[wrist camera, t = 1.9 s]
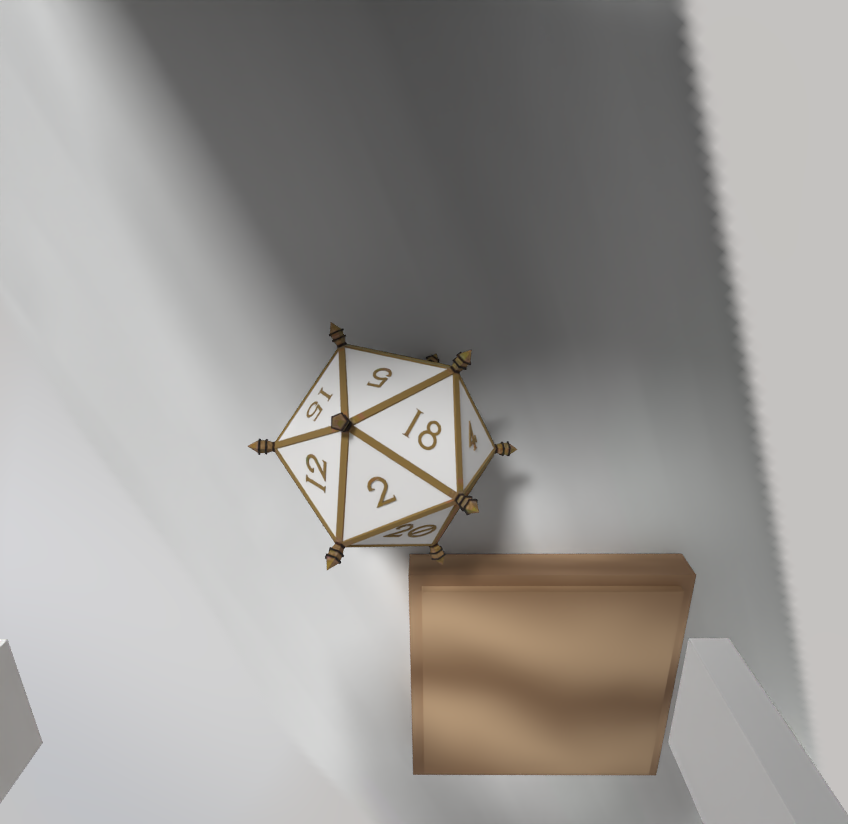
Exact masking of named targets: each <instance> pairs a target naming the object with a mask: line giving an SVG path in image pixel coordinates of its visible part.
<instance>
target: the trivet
mask: <svg viewBox="0 0 848 824" xmlns="http://www.w3.org/2000/svg"><path fill="white" fill-rule="evenodd" d="M695 578H696V574H695V573H694V571H693V570H692V568H691V567H690V565H689V564H688V562H687V561H686V559H685V558H684V556H683V555H682V554H446V555H445V556H444V562H443V565H442V564H440V563H439V562H437V561H435V560H432V555H431V554H410V559H409V615H410V657H411V700H412V742H413V775H656V773H657V768H658V763H659V758H660V753H661V748H662V743H663V738H664V733H665V728H666V723H667V718H668V713H669V708H670V703H671V698H672V693H673V688H674V683H675V678H676V673H677V668H678V663H679V658H680V653H681V648H682V643H683V638H684V633H685V628H686V623H687V618H688V613H689V608H690V603H691V598H692V593H693V588H694V583H695Z"/></svg>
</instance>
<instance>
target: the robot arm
mask: <svg viewBox="0 0 848 824" xmlns="http://www.w3.org/2000/svg"><path fill="white" fill-rule="evenodd" d="M42 743H43V742H42V739H41V736H40V734H39V730H38V728H37V725H36V722H35V719H34V716H33V713H32V710H31V707H30V704H29V701H28V698H27V695H26V692H25V689H24V687H23V684H22V681H21V678H20V675H19V672H18V669H17V666H16V663H15V660H14V657H13V654H12V652H11V649H10V646H9V643H8V640H7V639H6V640H5V639H3V640H1V639H0V803H1V802H2V800H3V799H4V797H5V796H6V794H7V793H8V792H9V790H10V789H11V787H12V786H13V785H14V783H15V782H16V780H17V779H18V777H19V776H20V775H21V773H22V772H23V770H24V769H25V767H26V766H27V764H28V763H29V762H30V760H31V759H32V757H33V756H34V755H35V753H36V752H37V750H38V749H39V747H40V746H41V744H42ZM668 744H669V746H670V748H671V751H672V753H673V755H674V758H675V760H676V762H677V765H678V767H679V769H680V771H681V774H682V776H683V778H684V781H685V783H686V785H687V788H688V790H689V792H690V795H691V797H692V799H693V801H694V804H695V806H696V808H697V811H698V813H699V815H700V818H701V820H702V822H703V824H848V814H847V813H846V811H845V810H844V808H843V807H842V805H841V804H840V802H839V801H838V799H837V798H836V796H835V795H834V793H833V792H832V790H831V789H830V787H829V786H828V784H827V783H826V781H825V780H824V778H823V777H822V776H821V774H820V773H819V771H818V770H817V768H816V767H815V765H814V764H813V762H812V761H811V759H810V758H809V756H808V755H807V753H806V752H805V750H804V749H803V747H802V746H801V744H800V743H799V741H798V740H797V738H796V737H795V735H794V734H793V732H792V731H791V729H790V728H789V726H788V725H787V723H786V722H785V721H784V719H783V718H782V716H781V715H780V713H779V712H778V710H777V709H776V707H775V706H774V704H773V703H772V701H771V700H770V698H769V697H768V695H767V694H766V692H765V691H764V689H763V688H762V686H761V685H760V683H759V682H758V680H757V679H756V677H755V676H754V674H753V673H752V671H751V670H750V668H749V667H748V665H747V664H746V663H745V661H744V660H743V658H742V657H741V655H740V654H739V652H738V651H737V649H736V648H735V646H734V645H733V643H732V642H731V640H730V639H729V638H689V639H688V644H687V649H686V655H685V660H684V665H683V670H682V675H681V680H680V685H679V690H678V695H677V700H676V705H675V710H674V715H673V720H672V725H671V731H670V736H669V741H668Z"/></svg>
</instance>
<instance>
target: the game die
mask: <svg viewBox="0 0 848 824" xmlns="http://www.w3.org/2000/svg"><path fill="white" fill-rule="evenodd" d="M342 330H343V329H341V328H339V327H338V326H336V325H335V324H333V323H332V322H331V326H330V334H329V336H331V337H332V339H333V340H332V342H334V343H335V344H336V345H337V350H336V351H335V353H334V354H333V356H332V357H331V359H330V360H329V362H328V363H327V365H326V366H325V368H324V369H323V371H322V372H321V374H320V375H319V377H318V378H317V380H316V381H315V383H314V384H313V386H312V387H311V389H310V390H309V392H308V393H307V395H306V396H305V398H304V399H303V401H302V402H301V404H300V405H299V407H298V408H297V410H296V411H295V413H294V414H293V416H292V417H291V419H290V420H289V422H288V423H287V425H286V426H285V428H284V429H283V431H282V432H281V434H280V435H279V437H278V438H277V440H276V441H275V442H271V441H268V439H266V440H261V439H259V440H258V441H256V442H254V443H253V444H251V445H249V446H248V447H250V448H251V449H253V450H254V451H256V452H258V454H259V455H260V453H265V454H267V453H268V452H272V451H273V452H275V453H276V454H277V456H278V457H279V459H280V460H281V462H282V463H283V465H284V466H285V468H286V469H287V471H288V473H289V474H290V476H291V477H292V479H293V480H294V482H295V483H296V485H297V486H298V488H299V489H300V491H301V492H302V494H303V495H304V497H305V498H306V500H307V501H308V503H309V504H310V506H311V507H312V509H313V510H314V512H315V513H316V515H317V517H318V518H319V520H320V521H321V523H322V524H323V526H324V527H325V529H326V530H327V532H328V533H329V535H330V536H331V538H332V539H333V541H334V542H335V545H334V546H333V547H332V548H331V547H330V548H329V553H328V554H326V556H325V559H327V570H328V569H330V568H332V567H333V566H335V565H337V564H341V561H340V560H341V558H342V557H344V555H343V549H344V548H345V547H395V546H429V547H430V553H429V554H431V555H432V560H435V561H437V562H439V563H440V564H442V565H443V562H444V556H445V555H446V554H445V553H444V551H442V550H443V549H442V547H441V546H439V545H438V541H439V539H440V538H441V536H442V535H443V533H444V532H445V530H446V529H447V527H448V526H449V524H450V522H451V521H452V519H453V518H454V516H455V515H456V513H457V512H458V510H459V509H460V508H461V510H462V511H465V513H466V514H467V515H469V514H471V513H479V510H478V506H477V501H478V500H477V499H472V496H468V495H469V493H470V491H471V490H472V488H473V487H474V485H475V484H476V482H477V481H478V479H479V478H480V476H481V474H482V473H483V471H484V470H485V468H486V467H487V465H488V464H489V462H490V461H491V459H492V457H493V456H494V454H496V453H498V454H499V455H502V456H504V455H507V456H510V454H511V453H513V452H514V451H516V450H517V449H516V448H515V447H514V446H512V445H511V444H509V441H507V443H503V442H501V443H500V444H497V445H496V444H494V442H493V440H492V438H491V436H490V434H489V432H488V430H487V428H486V426H485V424H484V422H483V420H482V418H481V416H480V414H479V412H478V410H477V408H476V406H475V404H474V402H473V400H472V398H471V396H470V394H469V392H468V390H467V388H466V386H465V384H464V382H463V380H462V378H461V376H460V374H459V373H460V371H462V370H463V369H464V370H466V369H467V368H466V367H467V366H468V365H471V361H470V360H471V351H472V350H469V351H466V352H463V353H462V352H460V353H458V354H457V357H456V358H455V359H454V360H453V365H452V366H450V365H445V364H441V363H439V359H438V357H437V354H435V355H431V356H428V357H426V359H427V360H421V359H416V358H412V357H407V356H402V355H397V354H392V353H387V352H383V351H378V350H373V349H368V348H363V347H359V346H354V345H349V344H347V343H346V342H345V336H346V335H344V334H343V331H342Z"/></svg>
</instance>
